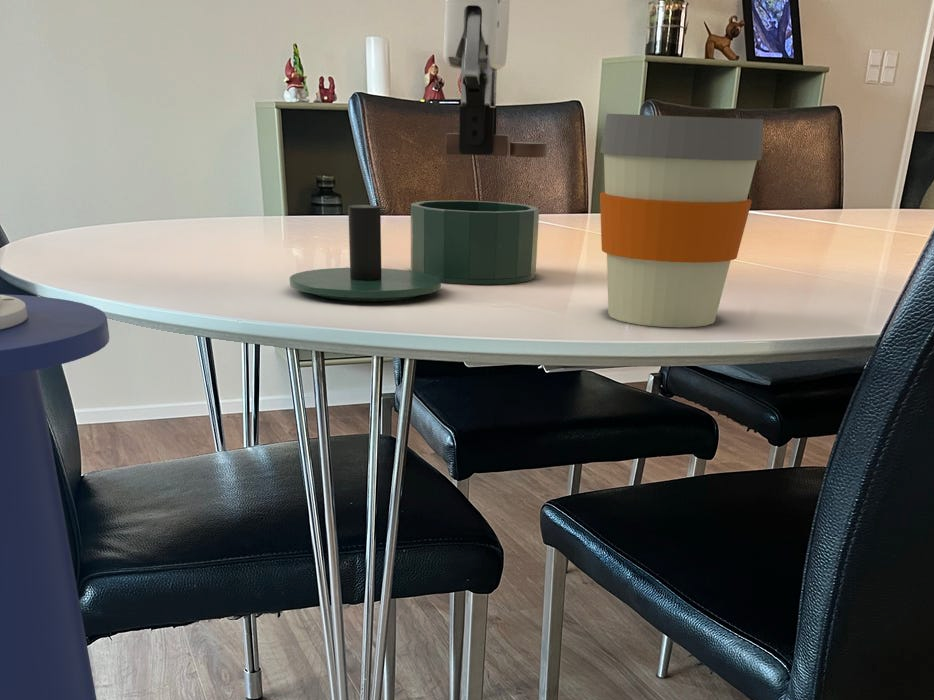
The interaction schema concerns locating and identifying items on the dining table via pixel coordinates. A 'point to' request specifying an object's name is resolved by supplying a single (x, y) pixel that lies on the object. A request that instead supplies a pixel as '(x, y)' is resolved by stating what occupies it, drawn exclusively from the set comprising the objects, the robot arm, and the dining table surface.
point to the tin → (474, 241)
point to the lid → (365, 268)
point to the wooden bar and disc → (501, 147)
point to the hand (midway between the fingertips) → (477, 152)
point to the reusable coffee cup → (674, 213)
